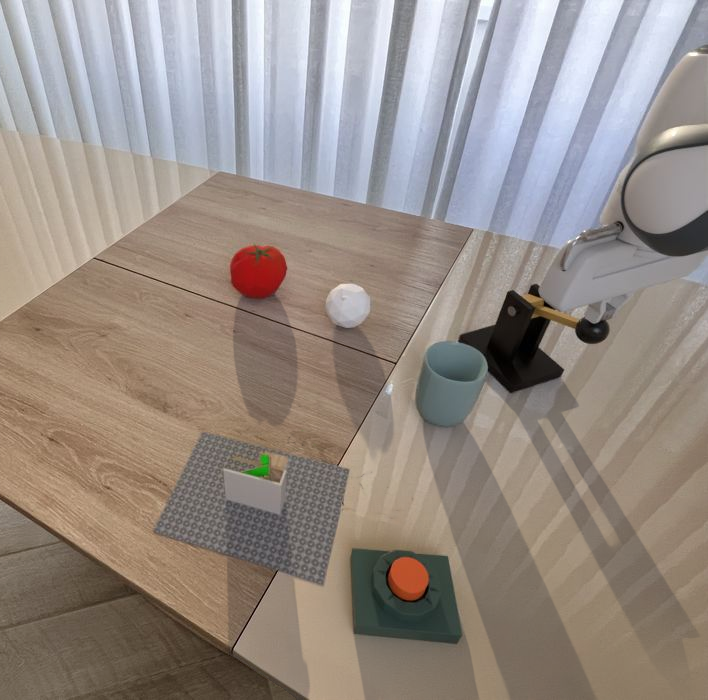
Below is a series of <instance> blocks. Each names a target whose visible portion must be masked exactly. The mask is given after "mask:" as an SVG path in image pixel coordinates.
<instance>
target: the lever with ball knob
mask: <svg viewBox="0 0 708 700" xmlns="http://www.w3.org/2000/svg"><path fill="white" fill-rule="evenodd" d="M521 296H522V297H523V298H524V299H525V300H527V301H528V302H529V303H530V304H532V305H533V306H534V307H535V311H534V313H533V315H532V318H535V317H538V316H542V317H544V318H547V319H550V320H551V321H553V322H555V323H557V324H560V325H563V326H565V327H568V328H571V329H573V330H574V333H575V335H576V337H577V339H578V340H579V341H580V342H582V343H585V344H588V345H597V344H601V343H602V342H604V341H606V339H607V338H608V336H609V335H610V332H611V327H610V324H609V322H608V320H604V321H601V322H598V323H595V324H593V323H591V322H590V321H589V320H587V319H586V318H585V316H583V317H581V318H578V317H575V316H571V315H569V314H566V313H565V312H559V311H557V310H553V309H550V308H547V307H544V306H543V305H544V300H543V299H542V298H539V297H536V296H533V295H530V294H528V293H527V294H523V295H521ZM532 318H531V319H532Z"/></svg>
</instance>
